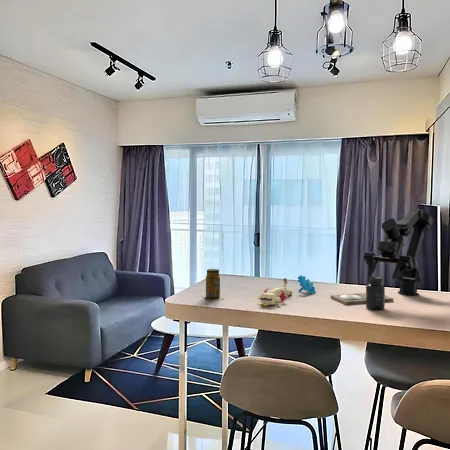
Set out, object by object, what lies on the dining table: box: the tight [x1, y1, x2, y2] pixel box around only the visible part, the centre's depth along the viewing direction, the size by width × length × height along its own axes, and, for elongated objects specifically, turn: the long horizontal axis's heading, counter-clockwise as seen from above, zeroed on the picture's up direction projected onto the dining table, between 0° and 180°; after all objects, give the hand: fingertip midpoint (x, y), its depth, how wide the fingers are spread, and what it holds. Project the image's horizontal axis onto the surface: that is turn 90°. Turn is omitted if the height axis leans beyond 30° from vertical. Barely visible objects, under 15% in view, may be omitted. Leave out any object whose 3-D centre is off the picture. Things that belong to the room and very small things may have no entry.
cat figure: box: [257, 277, 293, 306], centre depth 181 cm, size 10×9×25 cm
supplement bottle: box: [365, 276, 386, 312], centre depth 168 cm, size 7×7×12 cm
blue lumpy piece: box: [297, 274, 316, 295], centre depth 196 cm, size 11×6×10 cm
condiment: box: [202, 268, 225, 301], centre depth 185 cm, size 7×8×12 cm
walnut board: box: [330, 292, 394, 306], centre depth 182 cm, size 22×12×1 cm, turn 105°
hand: (381, 277), depth 171 cm, fingers open, 9 cm apart
